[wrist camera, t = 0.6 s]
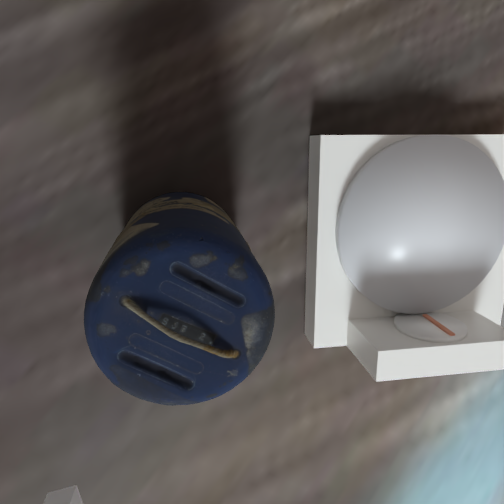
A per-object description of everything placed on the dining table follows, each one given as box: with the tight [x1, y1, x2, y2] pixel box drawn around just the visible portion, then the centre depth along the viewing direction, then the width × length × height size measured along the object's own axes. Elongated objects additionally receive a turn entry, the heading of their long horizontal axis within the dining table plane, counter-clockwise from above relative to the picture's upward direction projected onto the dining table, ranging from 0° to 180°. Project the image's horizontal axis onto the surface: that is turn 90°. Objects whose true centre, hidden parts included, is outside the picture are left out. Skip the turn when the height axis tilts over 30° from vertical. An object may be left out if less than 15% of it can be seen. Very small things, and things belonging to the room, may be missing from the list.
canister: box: [84, 192, 275, 405], centre depth 28 cm, size 10×10×18 cm
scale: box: [304, 134, 504, 382], centre depth 35 cm, size 18×18×9 cm
